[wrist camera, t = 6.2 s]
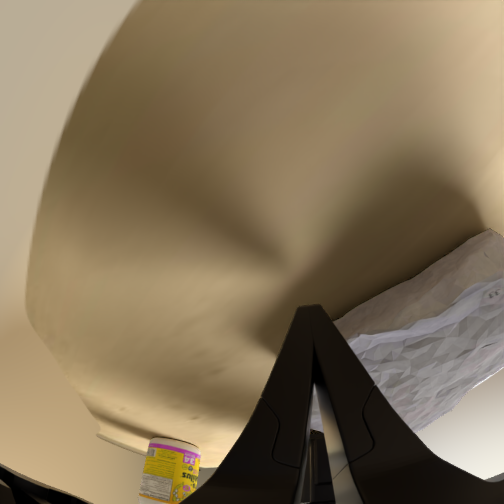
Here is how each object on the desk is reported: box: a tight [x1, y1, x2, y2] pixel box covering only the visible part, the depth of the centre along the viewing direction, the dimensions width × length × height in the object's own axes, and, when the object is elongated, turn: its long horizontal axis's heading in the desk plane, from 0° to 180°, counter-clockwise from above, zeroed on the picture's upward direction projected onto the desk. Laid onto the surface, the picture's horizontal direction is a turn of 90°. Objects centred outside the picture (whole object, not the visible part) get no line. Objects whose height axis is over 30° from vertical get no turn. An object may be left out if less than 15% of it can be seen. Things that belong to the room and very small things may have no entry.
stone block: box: [310, 229, 504, 433], centre depth 10 cm, size 12×5×10 cm
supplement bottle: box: [138, 437, 201, 504], centre depth 23 cm, size 7×7×13 cm
